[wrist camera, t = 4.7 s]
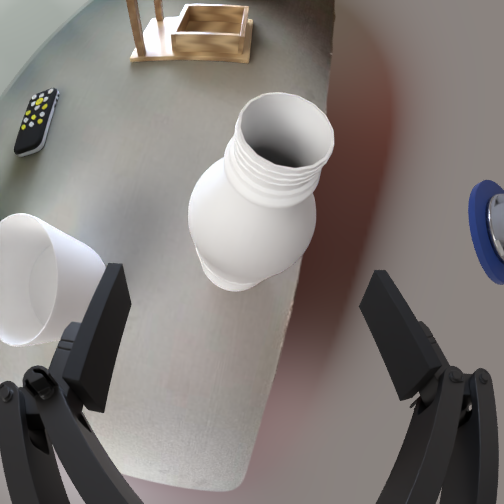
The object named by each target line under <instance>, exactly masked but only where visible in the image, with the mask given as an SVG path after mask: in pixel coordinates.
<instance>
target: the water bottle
mask: <svg viewBox="0 0 504 504" xmlns="http://www.w3.org/2000/svg"><path fill="white" fill-rule="evenodd" d="M333 146H334V130H333V128H332V127H331V124H330V122H329V120H328V118H327V116H326V115H325V114H324V113H323V112H322V111H321V110H320V109H319V108H318V107H317V106H316V105H315V104H313V103H312V102H310V101H308V100H306V99H304V98H302V97H300V96H298V95H293V94H289V93H284V92H274V93H264V94H262V95H260V96H257V97H255V98H253V99H251V100H249V101H248V103H247V104H246V105H245V106H244V107H243V109H242V110H241V111H240V113H239V117H238V120H237V122H236V124H235V134H234V135H233V137H232V138H231V140H230V141H229V143H228V145H227V147H226V150H225V153H224V157H223V158H222V159H220V160H218V161H217V162H215V163H214V164H213V165H212V166H211V167H209V168H208V169H207V170H206V171H205V172H204V173H203V175H202V176H201V177H200V179H199V180H198V182H197V184H196V186H195V188H194V190H193V192H192V194H191V198H190V202H189V207H188V225H189V230H190V234H191V237H192V240H193V242H194V244H195V247H196V251H197V254H198V257H199V259H200V261H201V265H202V268H203V270H204V272H205V274H206V276H207V277H208V278H209V279H210V281H211V282H213V283H214V284H215V285H216V286H218V287H220V288H222V289H225V290H228V291H243V290H247V289H249V288H252V287H254V286H255V285H257V284H258V283H259V282H261V281H263V280H265V279H267V278H269V277H271V276H274V275H277V274H279V273H281V272H283V271H284V270H286V269H288V268H289V267H290V266H291V265H293V264H294V263H295V262H296V261H297V260H298V259H299V258H300V257H301V256H302V255H303V253H304V252H305V250H306V248H307V247H308V245H309V243H310V241H311V238H312V236H313V233H314V229H315V224H316V205H315V199H314V196H313V192H314V190H315V188H316V186H317V184H318V182H319V178H320V173H321V168H322V167H323V166H324V165H325V164H326V162H327V161H328V159H329V157H330V156H331V154H332V152H333Z"/></svg>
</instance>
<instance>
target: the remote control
mask: <svg viewBox="0 0 504 504" xmlns="http://www.w3.org/2000/svg"><path fill="white" fill-rule="evenodd" d="M58 97H59V92H58V90H57V89H55V88H51V89H48V90H46V91H43V92H40V93H38V94H36V95H34V96H33V97H32V98H31V100H30V102H29V104H28V107H27V110H26V112H25V115H24V118H23V121H22V124H21V127H20V130H19V133H18V136H17V139H16V143H15V146H14V152H15V154H16V155H17V156H19V157H22V156H25V155H29V154H32V153H35V152H38V151H39V150H41V149H42V147H43V146H44V144H45V140H46V136H47V132H48V129H49V125H50V122H51V118H52V115H53V112H54V109H55V106H56V103H57V100H58Z"/></svg>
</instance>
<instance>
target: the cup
mask: <svg viewBox="0 0 504 504" xmlns="http://www.w3.org/2000/svg"><path fill="white" fill-rule="evenodd" d="M105 269H106V267H105V265H104V263H103V261H102V260H101V258H100V256H99V255H98V254H97V253H96V252H95V251H94V250H93V249H91V248H90V247H89V246H87V245H86V244H84V243H82V242H80V241H78V240H76V239H75V238H73V237H71V236H69V235H67V234H65V233H63V232H62V231H60V230H58V229H56V228H54V227H53V226H51V225H49V224H47V223H45V222H44V221H42V220H40V219H38V218H37V217H35V216H32V215H30V214H27V213H17V214H13V215H10V216H8V217H6V218H5V219H3V220H1V221H0V340H1V341H2V342H4V343H6V344H8V345H11V346H17V347H23V346H29V345H36V344H41V343H47V342H53V341H59V340H61V336H62V334H63V331H64V329H65V328H66V327H67V326H68V325H69V324H70V323H71V322H79V323H81V322H82V320H83V318H84V315H85V313H86V311H87V308H88V306H89V304H90V301H91V299H92V297H93V295H94V293H95V290H96V288H97V286H98V284H99V282H100V280H101V278H102V276H103V274H104V271H105Z"/></svg>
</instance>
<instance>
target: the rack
mask: <svg viewBox="0 0 504 504" xmlns="http://www.w3.org/2000/svg"><path fill="white" fill-rule="evenodd" d="M126 2H127V7H128V12H129V17H130V22H131V27H132V32H133V36H134V41H135V45H136V48H135V49H134V51H133V53H132V55H131V57H130V61H131V62H141V61H159V60H208V61H226V62H239V63H249V58H250V48H251V37H252V27H253V20H249V19H247V18H248V11H249V6H238V5H222V4H185V6H184V8H183V10H182V12H181V14H180V16H179V17H167V18H164V16H163V6H162V0H154V5H155V13H156V18H153V19H151V21H150V23H149V24H148V26H147V28H146V30H145V31H144V33H143V32H142V27H141V21H140V15H139V9H138V3H137V0H126Z"/></svg>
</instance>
